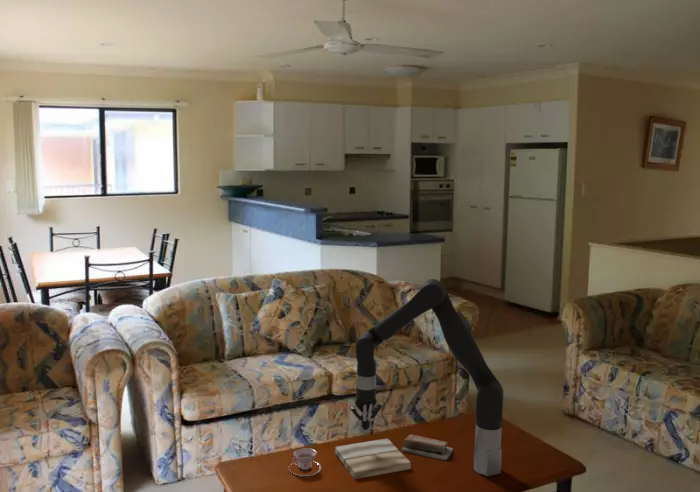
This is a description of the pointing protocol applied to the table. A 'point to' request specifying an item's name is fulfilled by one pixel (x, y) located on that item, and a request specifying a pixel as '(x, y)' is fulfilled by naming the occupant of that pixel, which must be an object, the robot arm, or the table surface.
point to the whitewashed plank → (364, 449)
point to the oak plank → (377, 464)
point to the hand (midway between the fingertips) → (365, 429)
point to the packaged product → (427, 447)
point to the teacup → (305, 459)
